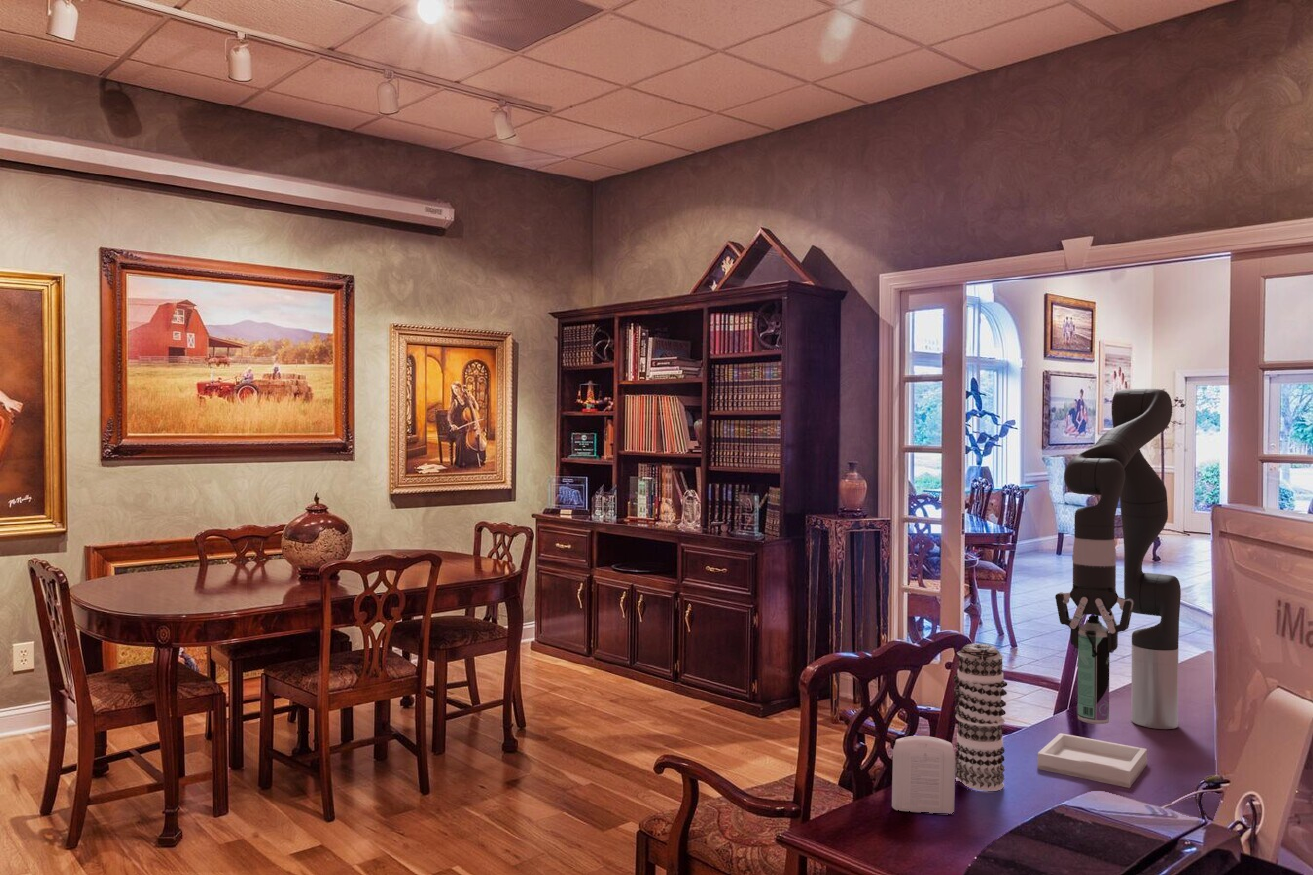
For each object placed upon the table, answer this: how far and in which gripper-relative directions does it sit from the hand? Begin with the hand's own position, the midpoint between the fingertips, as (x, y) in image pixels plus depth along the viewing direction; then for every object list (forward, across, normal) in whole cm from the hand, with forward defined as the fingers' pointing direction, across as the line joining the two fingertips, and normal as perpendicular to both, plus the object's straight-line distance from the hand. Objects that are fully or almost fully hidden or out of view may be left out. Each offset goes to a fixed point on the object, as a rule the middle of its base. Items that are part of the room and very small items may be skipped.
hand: (1093, 649), depth 182 cm
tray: (+22, 0, 0) cm, 22 cm away
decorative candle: (+23, +14, +23) cm, 35 cm away
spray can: (+14, 0, 0) cm, 14 cm away
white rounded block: (+23, +17, +42) cm, 50 cm away
